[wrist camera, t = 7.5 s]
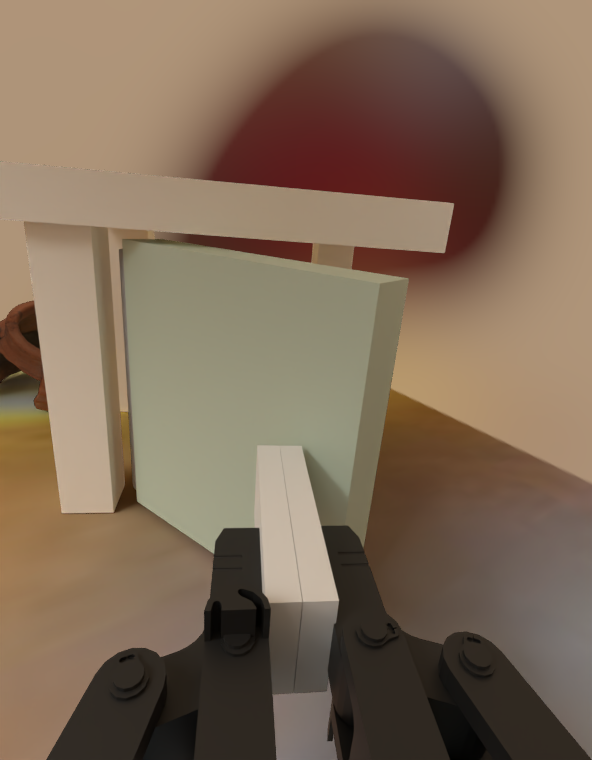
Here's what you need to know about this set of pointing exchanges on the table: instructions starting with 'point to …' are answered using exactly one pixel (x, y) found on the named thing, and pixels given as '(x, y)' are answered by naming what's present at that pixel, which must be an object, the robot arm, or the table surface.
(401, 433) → the table surface
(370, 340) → the panel
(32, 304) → the brown curved piece
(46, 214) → the stool
